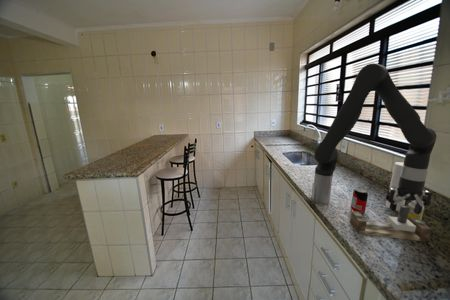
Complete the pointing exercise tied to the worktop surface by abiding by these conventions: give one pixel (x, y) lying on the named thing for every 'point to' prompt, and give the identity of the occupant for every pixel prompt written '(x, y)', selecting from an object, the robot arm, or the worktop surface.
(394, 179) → the cylindrical container
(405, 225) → the carriage
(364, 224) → the rail
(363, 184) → the worktop surface
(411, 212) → the supplement bottle
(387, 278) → the worktop surface
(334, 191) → the worktop surface
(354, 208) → the beverage can
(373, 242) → the worktop surface
